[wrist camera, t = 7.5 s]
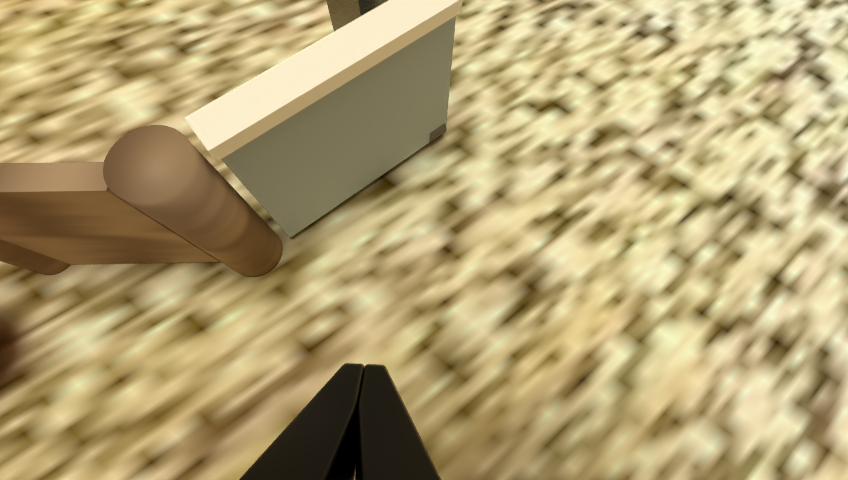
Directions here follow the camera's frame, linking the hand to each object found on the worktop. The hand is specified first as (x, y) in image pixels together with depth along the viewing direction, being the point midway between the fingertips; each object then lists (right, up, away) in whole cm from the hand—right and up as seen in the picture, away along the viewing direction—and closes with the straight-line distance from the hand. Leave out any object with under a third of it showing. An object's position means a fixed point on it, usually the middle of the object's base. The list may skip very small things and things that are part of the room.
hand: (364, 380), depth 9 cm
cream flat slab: (-2, +7, +17) cm, 18 cm away
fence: (-14, +2, +15) cm, 21 cm away
